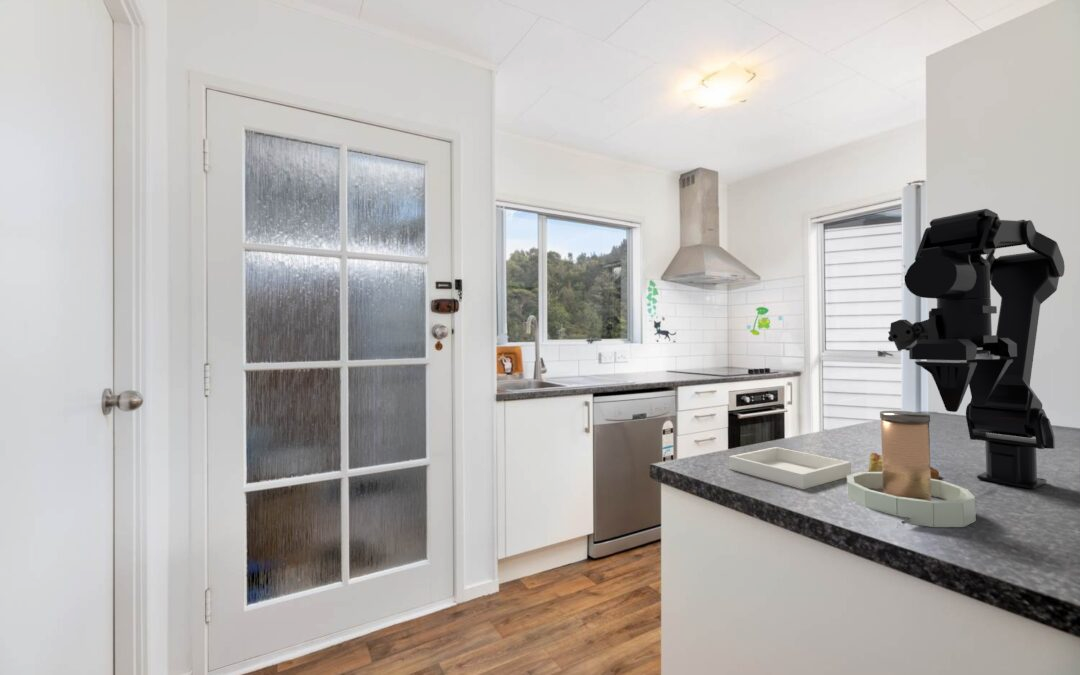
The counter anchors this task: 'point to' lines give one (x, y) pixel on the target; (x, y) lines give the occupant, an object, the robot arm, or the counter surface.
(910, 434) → the canister
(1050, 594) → the counter surface
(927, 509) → the bowl
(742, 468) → the tray
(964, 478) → the counter surface
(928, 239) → the robot arm
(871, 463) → the pastry
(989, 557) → the counter surface
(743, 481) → the counter surface
